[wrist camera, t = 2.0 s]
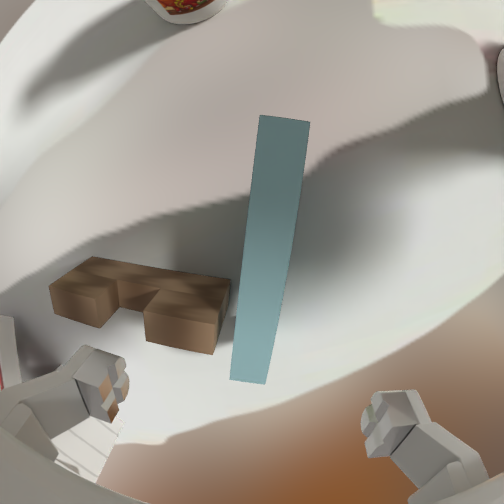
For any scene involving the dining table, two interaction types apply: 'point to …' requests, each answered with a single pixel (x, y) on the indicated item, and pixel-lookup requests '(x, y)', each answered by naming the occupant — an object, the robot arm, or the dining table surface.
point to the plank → (267, 243)
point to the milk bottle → (186, 9)
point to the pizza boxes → (76, 438)
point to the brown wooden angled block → (146, 301)
